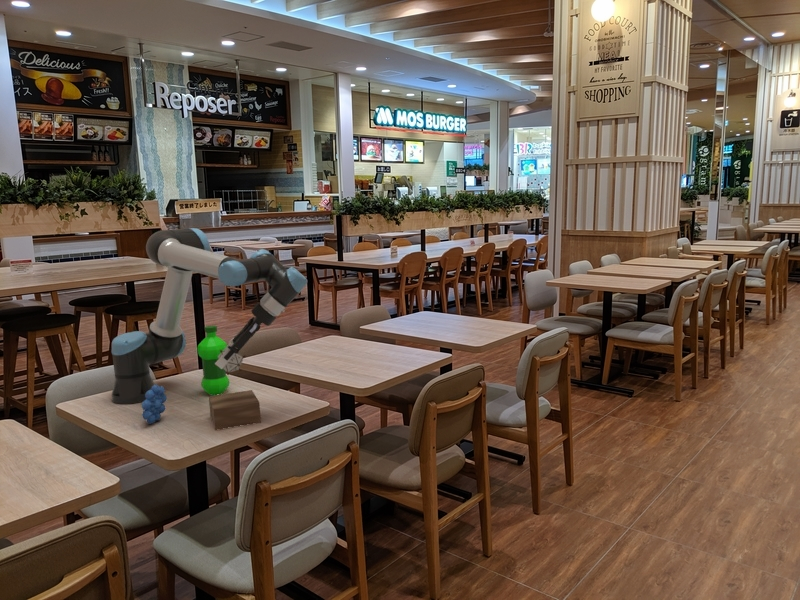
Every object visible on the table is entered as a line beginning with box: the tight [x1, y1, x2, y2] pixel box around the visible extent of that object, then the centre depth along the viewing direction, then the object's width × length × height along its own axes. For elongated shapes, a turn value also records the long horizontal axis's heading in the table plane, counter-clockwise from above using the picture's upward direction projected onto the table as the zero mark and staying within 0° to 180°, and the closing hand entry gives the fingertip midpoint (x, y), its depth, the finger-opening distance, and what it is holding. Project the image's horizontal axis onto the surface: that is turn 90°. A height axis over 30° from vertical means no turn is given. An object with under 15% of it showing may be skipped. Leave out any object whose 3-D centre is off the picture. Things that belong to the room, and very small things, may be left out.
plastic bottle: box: [197, 325, 230, 396], centre depth 223 cm, size 10×10×25 cm
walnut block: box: [208, 389, 262, 431], centre depth 197 cm, size 14×14×7 cm
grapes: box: [141, 384, 168, 425], centre depth 197 cm, size 12×7×12 cm, turn 167°
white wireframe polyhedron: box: [215, 350, 247, 376], centre depth 195 cm, size 9×8×10 cm
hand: (219, 362), depth 194 cm, fingers closed on white wireframe polyhedron, 8 cm apart
